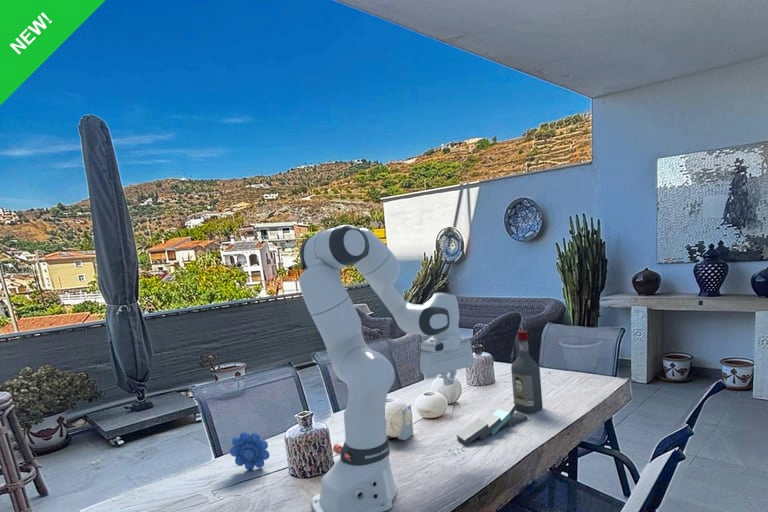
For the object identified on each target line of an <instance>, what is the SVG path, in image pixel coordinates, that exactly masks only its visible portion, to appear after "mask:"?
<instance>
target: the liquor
mask: <svg viewBox="0 0 768 512" xmlns="http://www.w3.org/2000/svg"><path fill="white" fill-rule="evenodd" d="M528 334H529V333H528V331H527V330H518V331H517V340H518V357H517V358H516V359H515V360H514V361H513V362H512V363H511V366H510V369H511V382H512V396H513V404H515V406H516V408H517V409H516V410H515V411H517V412H521V413H525V414H536V413H537V412H539V411H542V409H543V407H544V406H543V394H542V384H541V383H542V381H541V380H542V379H541V370H540V369H541V368H540V366H539V364H538V363H537V362H536V361H535V360H534V359H533V358H532V357H531V354H530V353H529V352H530V351H529V341H528V340H529V337H528V336H529V335H528Z"/></svg>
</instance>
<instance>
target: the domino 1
mask: <svg viewBox="0 0 768 512" xmlns="http://www.w3.org/2000/svg"><path fill="white" fill-rule="evenodd" d="M482 420H483V419H480V418H478V419H476V420H475V421H473V422H472V423H470V424H469V425H468V426H466V427H465V428H463V429H462V430H460V431H459V432H457V433H456V434H455V436H456V439H457V440H458V441H460V442H461V443H463V444H464V445H465V446H468V445H469V444H470V443H472V442H473V441H474V440H476V439H478V438H477V437H479V436H480V435H482V434H483V433H484V432H486V431H487V430H489V426H488V424H487V423H485V422H483V421H482Z"/></svg>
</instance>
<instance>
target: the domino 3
mask: <svg viewBox="0 0 768 512" xmlns="http://www.w3.org/2000/svg"><path fill="white" fill-rule="evenodd" d="M493 415H495V416H498V417H500V418H501V421H502V423H500V424H499V425H498V426H497V427H496V428H495V429H494V430H493V431H491V432H490V433H489V435H492V436H493V435H495V433H497V432H498V431H499V429H501V428H502V427H503V425H504V424H505V423H506V422H507V421H508V420H509V419H510V418H511V416H510V413H508V412H505V411H502V410H499V408H498V409H497V410H496V411H495V412H494V413H493Z"/></svg>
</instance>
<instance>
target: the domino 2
mask: <svg viewBox="0 0 768 512" xmlns="http://www.w3.org/2000/svg"><path fill="white" fill-rule="evenodd" d="M493 414H494V413H493ZM493 414H492V413H489V414H487V415H486V416H484V418H483V419H481V420H482V421H483V422H485V423H487V424H488V426H489V430H487V431H486V432H484V433H483V434H482V435H480V436H479V437H477V438H476V439H479V440H481V441H482V440H483V439H485V438H486V437H487V436H488V435H490V432H491V431H493V430H494V429H495V428H496V427H497V426H498V425H499V424H500V423H502V421H501V418H500V417H498V416H495V415H493Z"/></svg>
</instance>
